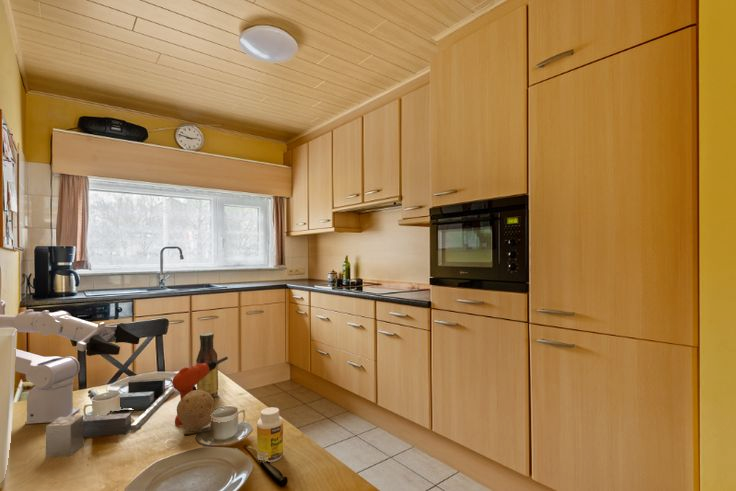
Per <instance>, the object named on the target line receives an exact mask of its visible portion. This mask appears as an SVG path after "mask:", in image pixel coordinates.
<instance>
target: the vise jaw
mask: <svg viewBox="0 0 736 491" xmlns="http://www.w3.org/2000/svg"><path fill="white" fill-rule="evenodd" d="M127 388H128V389H127V391H128V393H125V392H123V393H119V394H120V407H121V409H123V408H132V409H134V410H133V411H142V410H144V411H146V410H147V409H148V408H149V407H150V406H151V405H152V404H153V403H154V402H155V398H156V397H157V398H159V397H160V396H161V395H162V394H163V393H164V392H165V391H166V378H148V379H133V380H129V381H128V386H127Z"/></svg>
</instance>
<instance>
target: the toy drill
mask: <svg viewBox="0 0 736 491" xmlns="http://www.w3.org/2000/svg"><path fill="white" fill-rule="evenodd" d="M228 359H229V357H228V356H225V357H223V358H220V359H217V361H210V362H207V363H203V364H196V363H195V365H194V366H193V365H191V366H188V367H182V368H181V369H180V370H179V371H178V372H177V373H176V374H175V375H174V376H173V378H172V381H171V383H172V387H174V389H175V390H177V391H178V392H179V397H180V400H181V399H182V398H183V397H184V396H185V395H186V394H188V393H189V392H191V391H194V390H197V383H198V382H199V381H200V380H202V379H203V378H204V377H205V376H206V375H207V374H209V372H210V371H212V370H213V369H215V368H216V366H217V364H218V365H220V364H221V363H223V362H225V361H227V360H228ZM174 425H175V426H177V427H184V426H183V424H182V423H181V421H180V420H179V418H178V415H176V416H175V419H174Z"/></svg>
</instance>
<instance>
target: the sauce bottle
mask: <svg viewBox="0 0 736 491" xmlns="http://www.w3.org/2000/svg"><path fill="white" fill-rule="evenodd" d="M214 337H215V336H214V333H213V332H203V333H200V334H199V342H200V343H199V344H200V345H199V346H200V347H199V351H198V354H197V357H196V359H195V360H196V362H195V365H196V364H203V363H207V362H210V361H218V353H217V351H216V350H215V348H214ZM196 389H197V390H202V391H205V392H207V393H209V394H210V395H211V396H212V398H213V399H214V398H215V397H217V396H218V395H219V394H218V393H219V392H218V390H219V364H217V366H216V368H215V369H213V370H212V371H210V372H209V374H207V375H206V376H205V377H204V378H203V379H202V380H200V381H199V382H198V383H197V384H196Z"/></svg>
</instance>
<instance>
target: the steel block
mask: <svg viewBox="0 0 736 491" xmlns="http://www.w3.org/2000/svg"><path fill="white" fill-rule="evenodd" d="M83 420H84V415H83V414H82V415H72V416H66V417H59V418H58V419H56V420H55V421H53V422H49V424H47V425H46V426H45V458H46V459H48V458H49V459H50V458H51V459H52V458H61V457H62V458H63V457H70V456H72V455H73V454H74V453H76V452H77V451H78V450H79V449H81V448H82V447H83V446H84V437H83Z"/></svg>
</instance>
